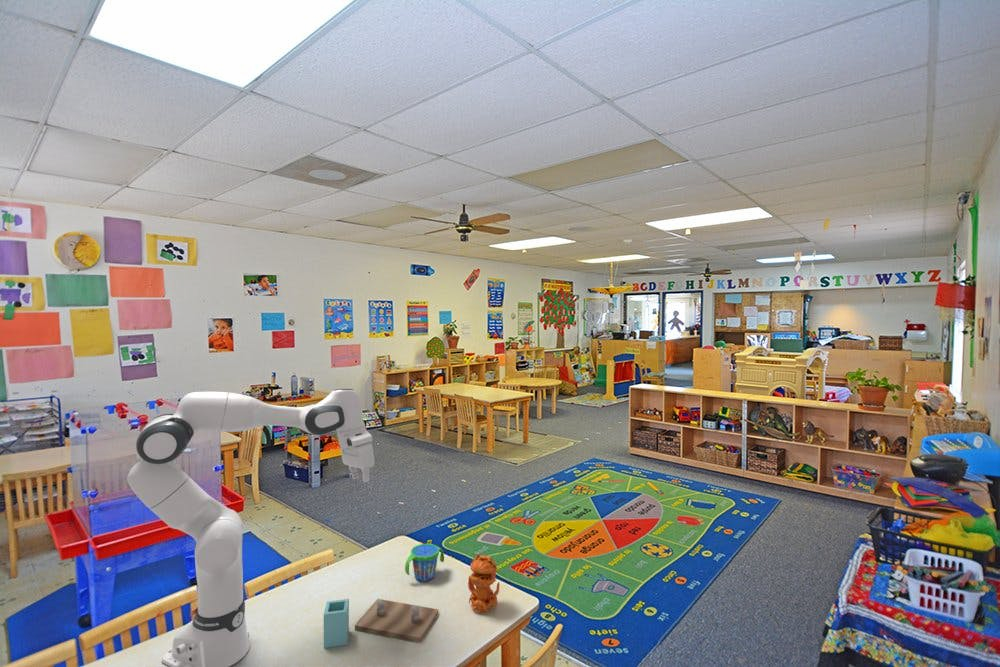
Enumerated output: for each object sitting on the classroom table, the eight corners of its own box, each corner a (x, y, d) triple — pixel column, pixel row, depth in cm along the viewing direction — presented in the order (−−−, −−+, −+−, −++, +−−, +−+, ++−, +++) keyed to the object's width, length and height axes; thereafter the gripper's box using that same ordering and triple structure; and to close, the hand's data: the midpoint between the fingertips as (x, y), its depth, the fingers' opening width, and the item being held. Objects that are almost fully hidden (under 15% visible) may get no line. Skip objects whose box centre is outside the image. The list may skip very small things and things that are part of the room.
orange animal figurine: (460, 613, 151) (460, 559, 151) (474, 594, 162) (474, 544, 161) (491, 621, 147) (492, 566, 147) (504, 602, 157) (504, 550, 157)
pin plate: (354, 629, 143) (354, 612, 143) (377, 603, 156) (377, 587, 156) (420, 642, 137) (420, 624, 137) (438, 613, 151) (438, 597, 151)
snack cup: (437, 564, 181) (437, 538, 181) (450, 577, 172) (450, 550, 172) (399, 576, 173) (399, 549, 172) (410, 590, 164) (410, 562, 164)
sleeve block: (323, 648, 135) (323, 614, 135) (326, 633, 141) (326, 601, 141) (346, 644, 136) (346, 611, 136) (348, 630, 143) (348, 598, 142)
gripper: (333, 438, 155) (341, 479, 155) (354, 441, 139) (362, 487, 139) (351, 433, 159) (359, 473, 159) (374, 436, 143) (382, 480, 142)
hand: (361, 479), depth 148 cm, fingers open, 8 cm apart
